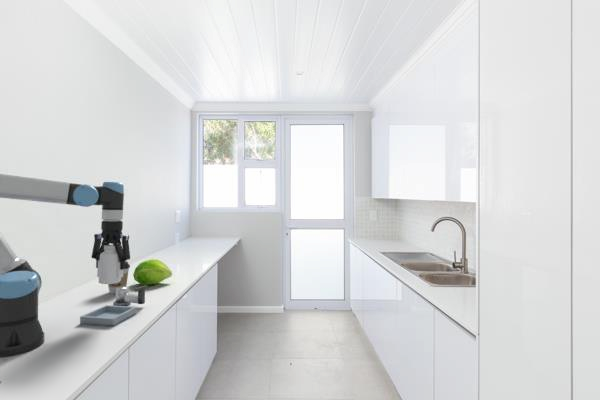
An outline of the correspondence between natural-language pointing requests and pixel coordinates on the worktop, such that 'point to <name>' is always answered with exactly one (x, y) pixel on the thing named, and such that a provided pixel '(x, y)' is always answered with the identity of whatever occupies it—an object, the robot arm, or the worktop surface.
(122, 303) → the crank base
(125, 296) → the crank
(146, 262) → the lettuce
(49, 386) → the worktop surface
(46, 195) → the robot arm
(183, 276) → the worktop surface
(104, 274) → the pill bottle
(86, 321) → the tray
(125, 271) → the coffee cup
